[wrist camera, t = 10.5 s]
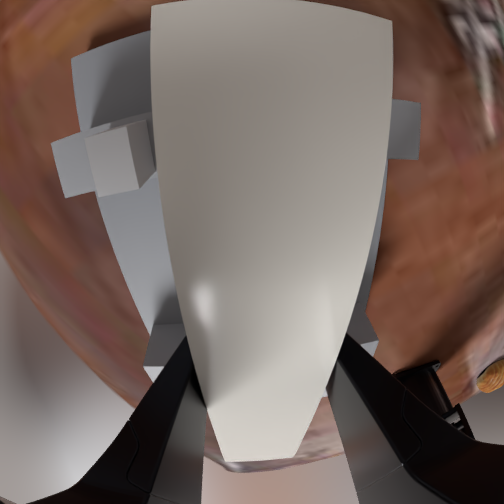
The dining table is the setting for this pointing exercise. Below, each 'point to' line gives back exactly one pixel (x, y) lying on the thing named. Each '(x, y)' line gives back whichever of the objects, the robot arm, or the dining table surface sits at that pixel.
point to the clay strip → (268, 197)
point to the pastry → (492, 377)
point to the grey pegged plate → (147, 186)
